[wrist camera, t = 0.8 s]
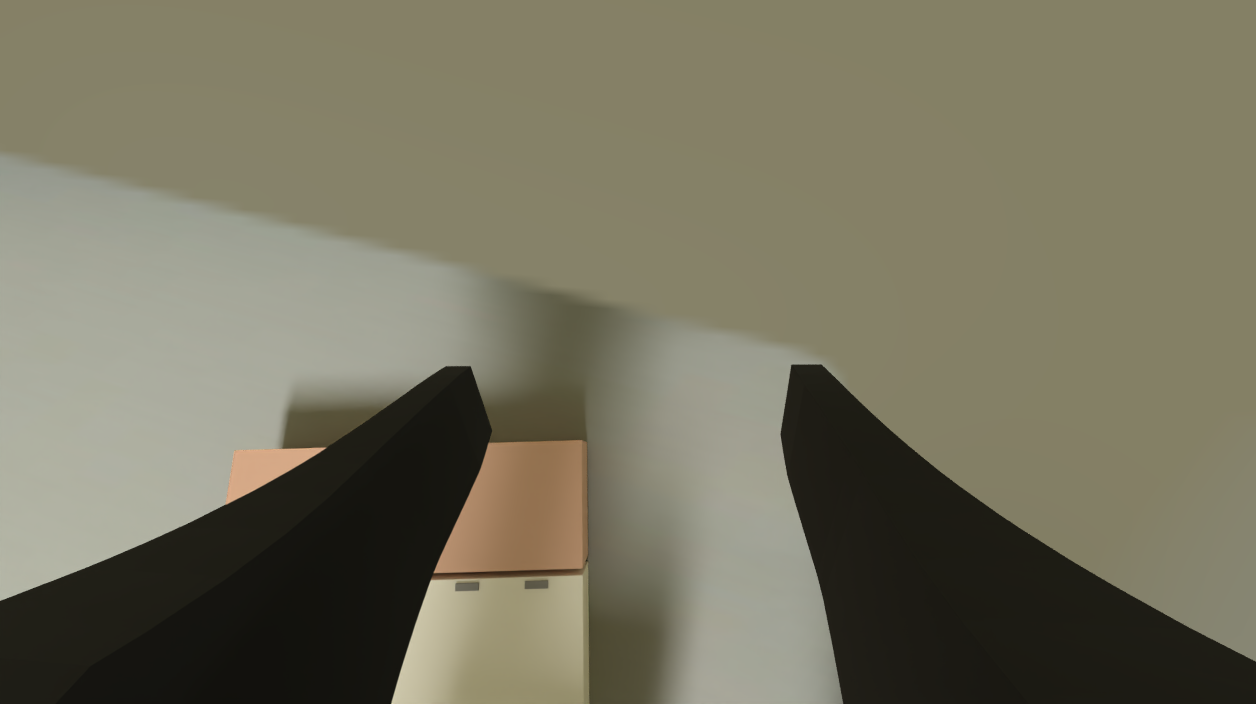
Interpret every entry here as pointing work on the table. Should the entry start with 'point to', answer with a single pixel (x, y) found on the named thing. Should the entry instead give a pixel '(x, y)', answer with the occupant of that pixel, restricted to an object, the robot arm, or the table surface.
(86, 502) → the table surface
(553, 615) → the board
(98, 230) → the table surface
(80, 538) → the table surface
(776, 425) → the table surface
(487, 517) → the block
